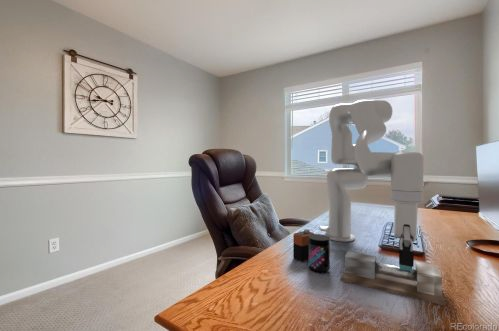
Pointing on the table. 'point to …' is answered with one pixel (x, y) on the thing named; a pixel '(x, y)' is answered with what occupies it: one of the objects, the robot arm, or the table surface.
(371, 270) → the tube rig
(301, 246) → the battery
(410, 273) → the l-shaped stand
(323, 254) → the supplement container
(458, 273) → the table surface
